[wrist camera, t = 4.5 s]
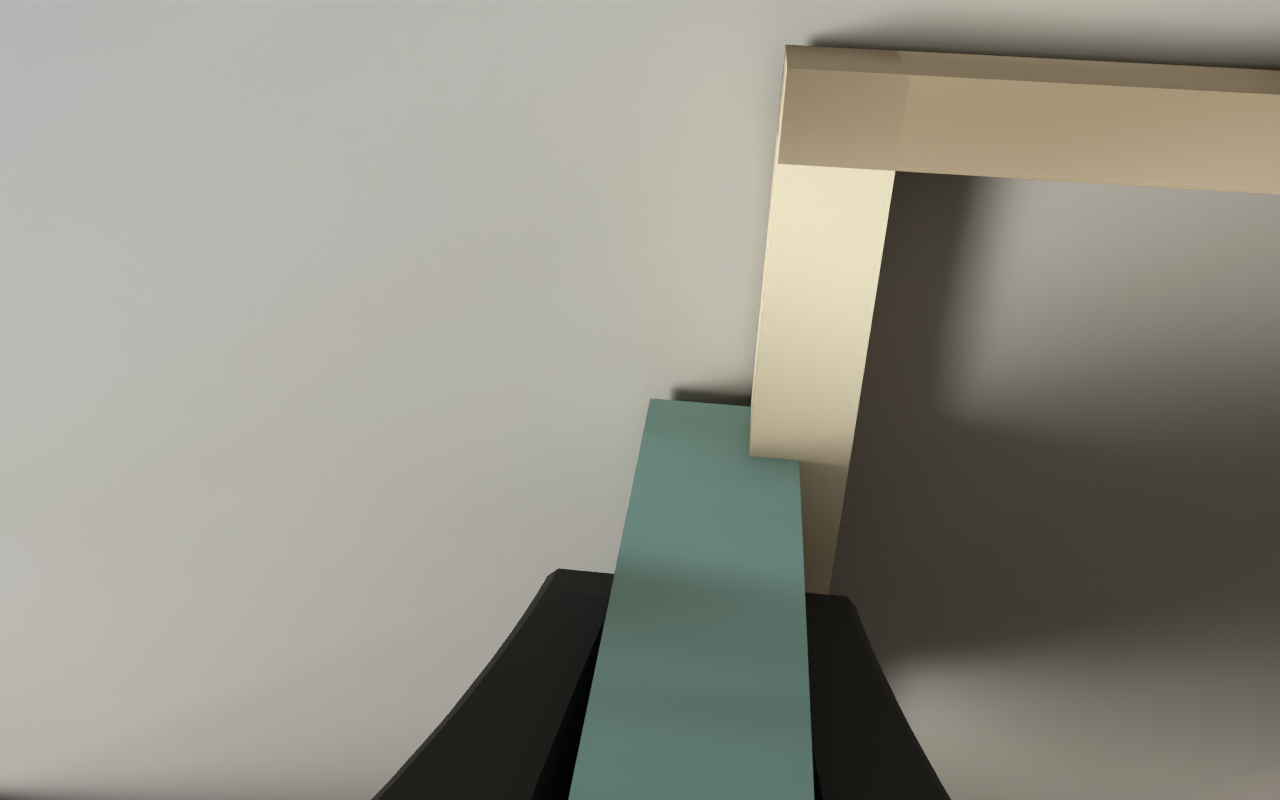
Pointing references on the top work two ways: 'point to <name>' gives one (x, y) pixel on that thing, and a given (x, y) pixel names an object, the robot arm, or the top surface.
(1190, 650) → the top surface
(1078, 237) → the top surface
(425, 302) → the top surface
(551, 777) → the robot arm
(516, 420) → the top surface
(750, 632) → the frame
